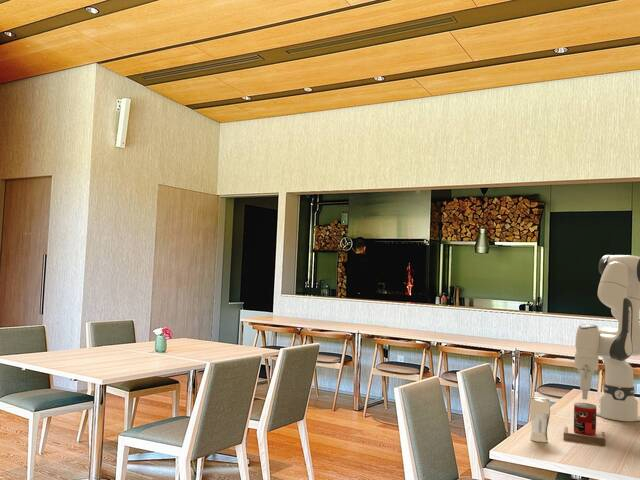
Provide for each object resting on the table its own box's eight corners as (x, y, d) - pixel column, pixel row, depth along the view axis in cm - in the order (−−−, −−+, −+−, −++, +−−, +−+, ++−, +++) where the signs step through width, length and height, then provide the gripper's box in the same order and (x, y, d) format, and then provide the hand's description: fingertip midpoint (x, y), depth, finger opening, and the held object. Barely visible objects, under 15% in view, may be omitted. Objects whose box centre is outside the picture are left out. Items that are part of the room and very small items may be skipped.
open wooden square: (564, 433, 232) (564, 426, 232) (604, 438, 226) (604, 432, 226) (563, 439, 223) (563, 432, 223) (605, 445, 217) (605, 438, 217)
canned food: (569, 430, 237) (570, 402, 238) (589, 430, 238) (589, 402, 238) (579, 435, 230) (580, 406, 230) (599, 436, 230) (600, 407, 231)
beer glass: (550, 443, 216) (551, 401, 217) (530, 441, 217) (531, 400, 218) (547, 438, 223) (548, 398, 224) (527, 436, 224) (529, 396, 225)
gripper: (594, 368, 232) (593, 404, 231) (594, 363, 251) (593, 396, 250) (577, 366, 235) (575, 401, 234) (578, 361, 253) (576, 394, 252)
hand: (584, 398), depth 242 cm, fingers closed
